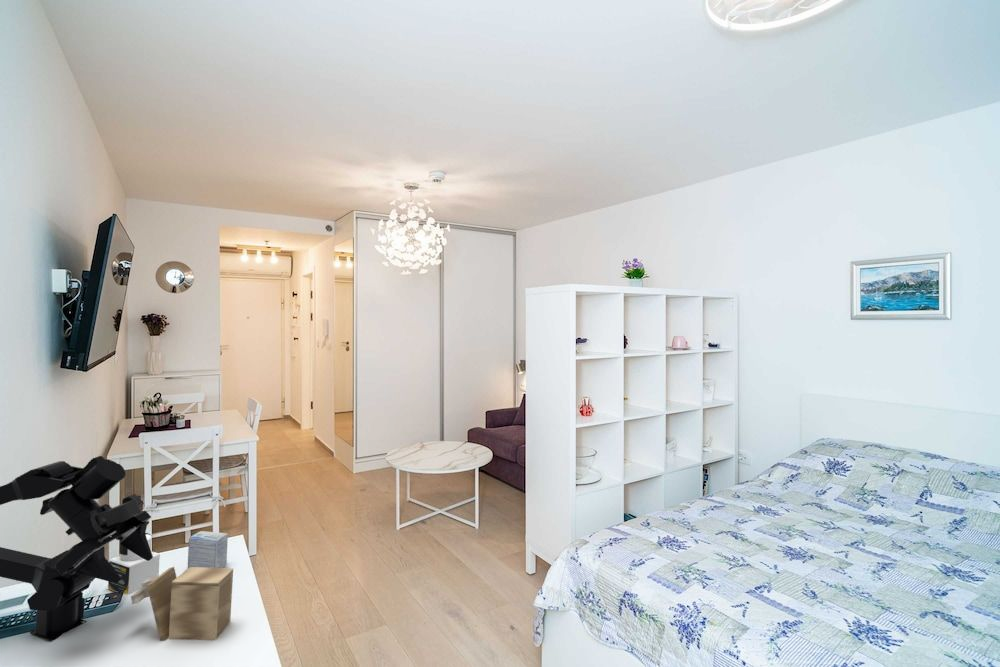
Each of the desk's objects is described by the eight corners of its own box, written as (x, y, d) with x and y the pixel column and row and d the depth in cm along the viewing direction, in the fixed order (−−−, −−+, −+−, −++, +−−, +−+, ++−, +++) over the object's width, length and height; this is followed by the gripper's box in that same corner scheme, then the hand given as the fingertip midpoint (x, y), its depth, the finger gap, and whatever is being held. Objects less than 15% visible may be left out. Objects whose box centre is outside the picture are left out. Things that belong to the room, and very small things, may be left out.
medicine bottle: (107, 589, 113) (110, 538, 113) (139, 575, 120) (141, 527, 120) (127, 597, 111) (130, 544, 111) (158, 582, 117) (161, 533, 117)
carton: (168, 641, 96) (171, 581, 96) (186, 623, 102) (189, 567, 102) (214, 643, 97) (218, 583, 97) (230, 624, 103) (233, 568, 103)
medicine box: (227, 565, 127) (228, 533, 127) (215, 574, 123) (217, 540, 123) (199, 562, 128) (200, 530, 128) (186, 571, 123) (188, 537, 123)
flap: (139, 646, 96) (125, 590, 95) (162, 624, 102) (149, 572, 102) (165, 639, 96) (151, 584, 96) (186, 618, 103) (174, 566, 103)
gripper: (75, 503, 89) (133, 564, 90) (144, 473, 108) (192, 524, 108) (28, 544, 89) (87, 605, 89) (106, 507, 108) (154, 558, 108)
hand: (135, 569), depth 99 cm, fingers open, 9 cm apart
